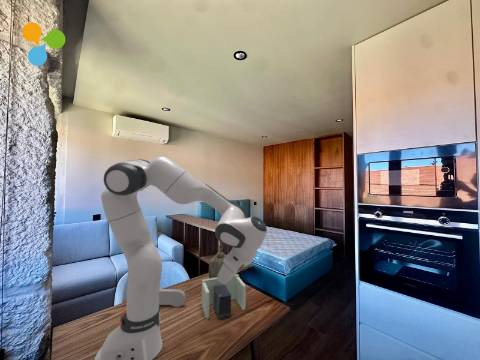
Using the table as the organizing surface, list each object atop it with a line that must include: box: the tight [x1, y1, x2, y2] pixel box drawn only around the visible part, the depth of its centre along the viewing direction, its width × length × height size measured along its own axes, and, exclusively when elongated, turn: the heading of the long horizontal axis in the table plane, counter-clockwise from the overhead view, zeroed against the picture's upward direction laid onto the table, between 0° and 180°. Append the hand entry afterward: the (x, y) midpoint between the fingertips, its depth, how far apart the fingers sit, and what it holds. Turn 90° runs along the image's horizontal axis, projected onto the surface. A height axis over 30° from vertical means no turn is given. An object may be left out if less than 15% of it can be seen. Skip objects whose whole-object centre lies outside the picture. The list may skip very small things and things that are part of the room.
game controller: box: [159, 288, 187, 308], centre depth 104 cm, size 20×2×8 cm, turn 89°
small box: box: [212, 285, 232, 320], centre depth 100 cm, size 11×6×10 cm, turn 21°
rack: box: [201, 273, 247, 319], centre depth 104 cm, size 20×12×13 cm, turn 111°
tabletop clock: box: [208, 243, 228, 279], centre depth 126 cm, size 14×9×25 cm, turn 164°
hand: (230, 276), depth 85 cm, fingers closed
